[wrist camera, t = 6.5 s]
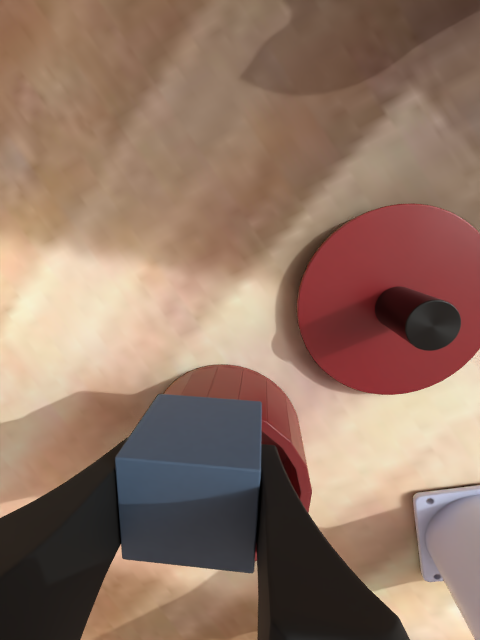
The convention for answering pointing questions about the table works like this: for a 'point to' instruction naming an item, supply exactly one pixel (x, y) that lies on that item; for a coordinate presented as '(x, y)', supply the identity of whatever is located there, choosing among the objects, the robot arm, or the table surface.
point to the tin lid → (393, 299)
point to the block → (192, 483)
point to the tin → (276, 414)
